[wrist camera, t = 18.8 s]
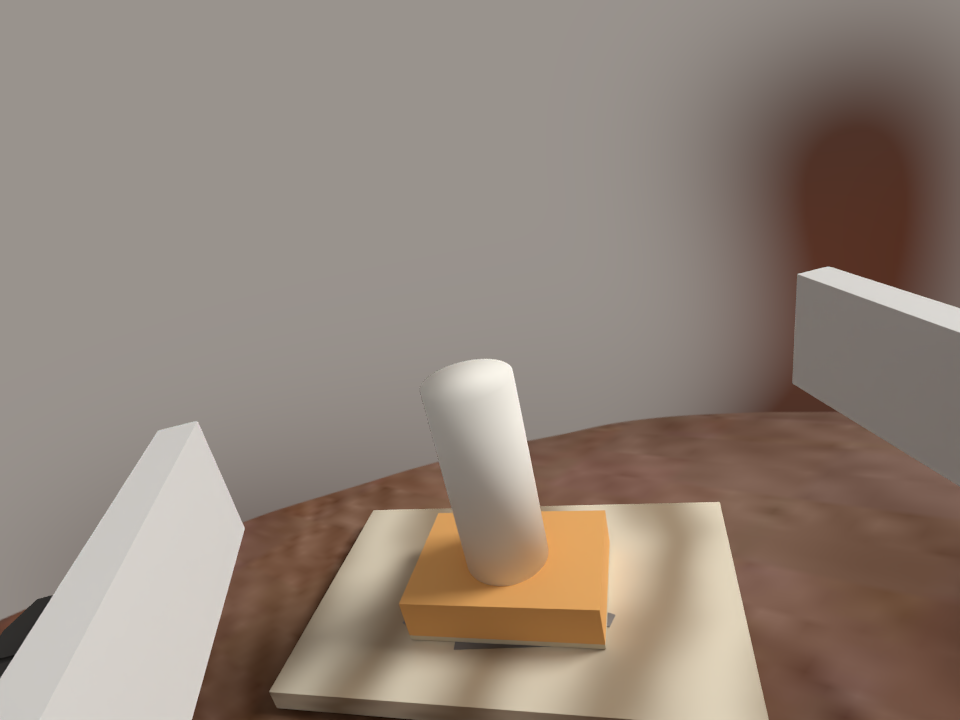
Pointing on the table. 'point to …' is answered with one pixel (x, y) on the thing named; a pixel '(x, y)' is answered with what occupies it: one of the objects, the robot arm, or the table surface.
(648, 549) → the plywood board
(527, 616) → the block
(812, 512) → the table surface
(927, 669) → the table surface
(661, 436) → the table surface
